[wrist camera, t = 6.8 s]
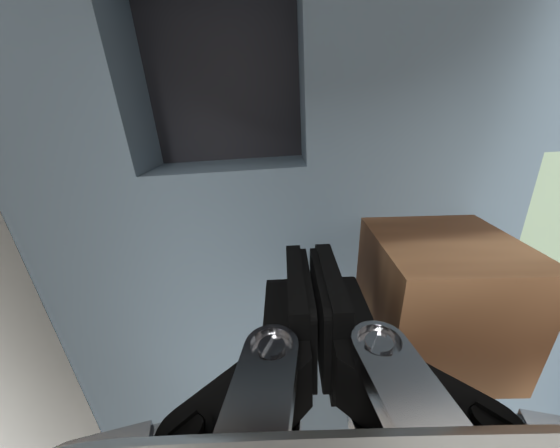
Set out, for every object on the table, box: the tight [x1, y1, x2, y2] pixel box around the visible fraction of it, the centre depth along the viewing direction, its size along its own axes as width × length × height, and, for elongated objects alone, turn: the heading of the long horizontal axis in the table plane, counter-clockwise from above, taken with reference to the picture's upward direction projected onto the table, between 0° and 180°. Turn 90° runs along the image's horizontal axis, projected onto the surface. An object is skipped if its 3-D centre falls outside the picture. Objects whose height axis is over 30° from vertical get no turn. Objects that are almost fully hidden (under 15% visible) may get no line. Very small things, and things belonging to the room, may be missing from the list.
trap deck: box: [0, 0, 560, 432], centre depth 12 cm, size 24×28×6 cm
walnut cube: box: [356, 215, 560, 399], centre depth 10 cm, size 4×4×4 cm
